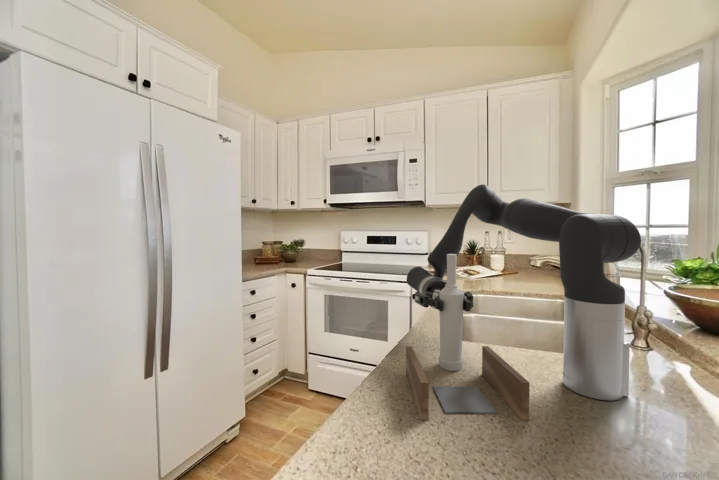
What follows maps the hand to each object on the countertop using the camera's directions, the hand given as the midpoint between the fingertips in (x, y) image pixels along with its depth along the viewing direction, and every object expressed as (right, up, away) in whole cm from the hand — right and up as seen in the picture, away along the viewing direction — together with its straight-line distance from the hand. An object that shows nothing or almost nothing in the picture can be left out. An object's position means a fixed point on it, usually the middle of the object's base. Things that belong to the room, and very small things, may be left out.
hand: (454, 306), depth 67 cm
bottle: (0, -14, +3) cm, 14 cm away
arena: (-2, -14, -9) cm, 17 cm away
